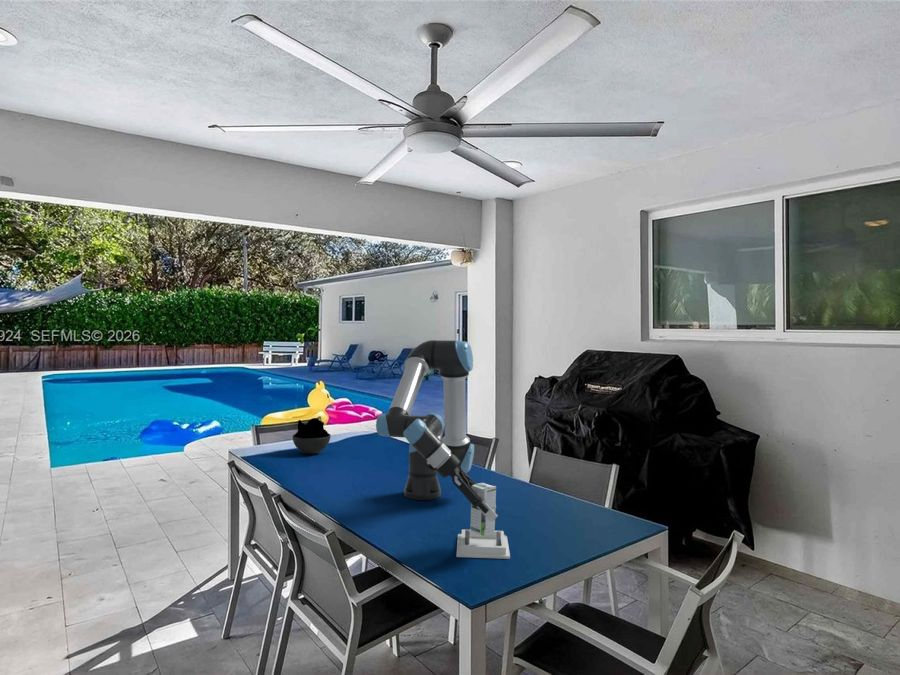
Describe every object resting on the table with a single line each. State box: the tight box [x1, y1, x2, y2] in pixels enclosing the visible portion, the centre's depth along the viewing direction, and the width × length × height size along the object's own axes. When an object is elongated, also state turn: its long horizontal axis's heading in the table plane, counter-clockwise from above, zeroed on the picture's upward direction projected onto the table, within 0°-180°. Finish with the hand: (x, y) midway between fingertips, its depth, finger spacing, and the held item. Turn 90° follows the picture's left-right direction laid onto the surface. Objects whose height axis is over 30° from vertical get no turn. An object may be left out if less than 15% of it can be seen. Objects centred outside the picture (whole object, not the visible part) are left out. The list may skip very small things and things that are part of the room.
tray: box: [456, 529, 511, 560], centre depth 166 cm, size 16×16×5 cm
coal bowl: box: [292, 417, 332, 455], centre depth 287 cm, size 20×20×19 cm
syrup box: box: [469, 482, 497, 536], centre depth 166 cm, size 6×6×14 cm
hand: (493, 514), depth 165 cm, fingers closed on syrup box, 8 cm apart
